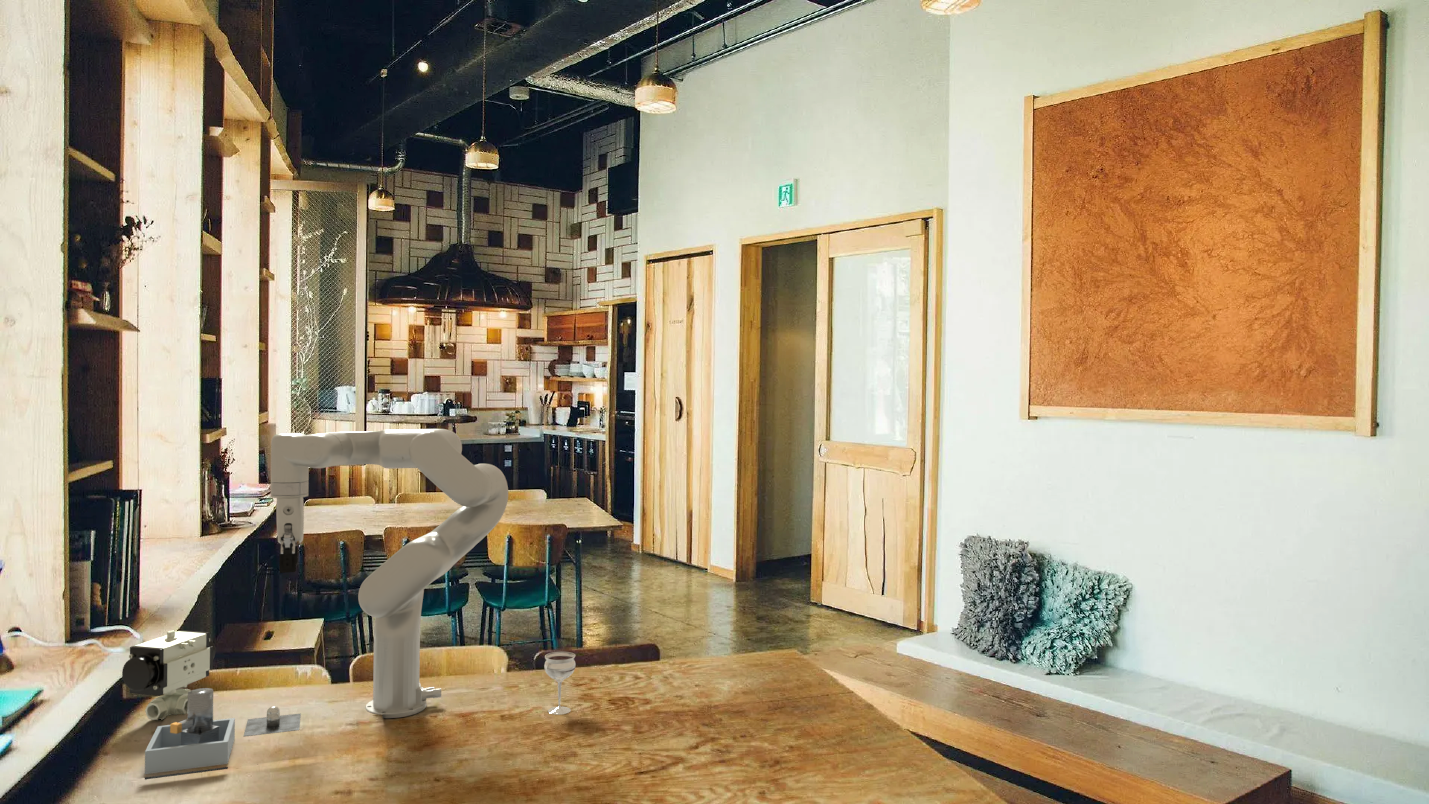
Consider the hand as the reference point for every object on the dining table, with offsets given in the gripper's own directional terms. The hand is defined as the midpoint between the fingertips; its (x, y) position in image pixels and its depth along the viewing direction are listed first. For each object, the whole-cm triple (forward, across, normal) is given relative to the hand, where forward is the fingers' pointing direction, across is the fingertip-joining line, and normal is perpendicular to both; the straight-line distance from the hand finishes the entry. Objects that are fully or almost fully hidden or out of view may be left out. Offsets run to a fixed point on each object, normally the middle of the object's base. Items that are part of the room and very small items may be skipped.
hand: (288, 567), depth 200 cm
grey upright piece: (+29, -26, +15) cm, 42 cm away
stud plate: (+30, -14, +2) cm, 33 cm away
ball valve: (+31, +2, +22) cm, 38 cm away
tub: (+30, -26, +15) cm, 43 cm away
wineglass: (+31, -23, -55) cm, 67 cm away
